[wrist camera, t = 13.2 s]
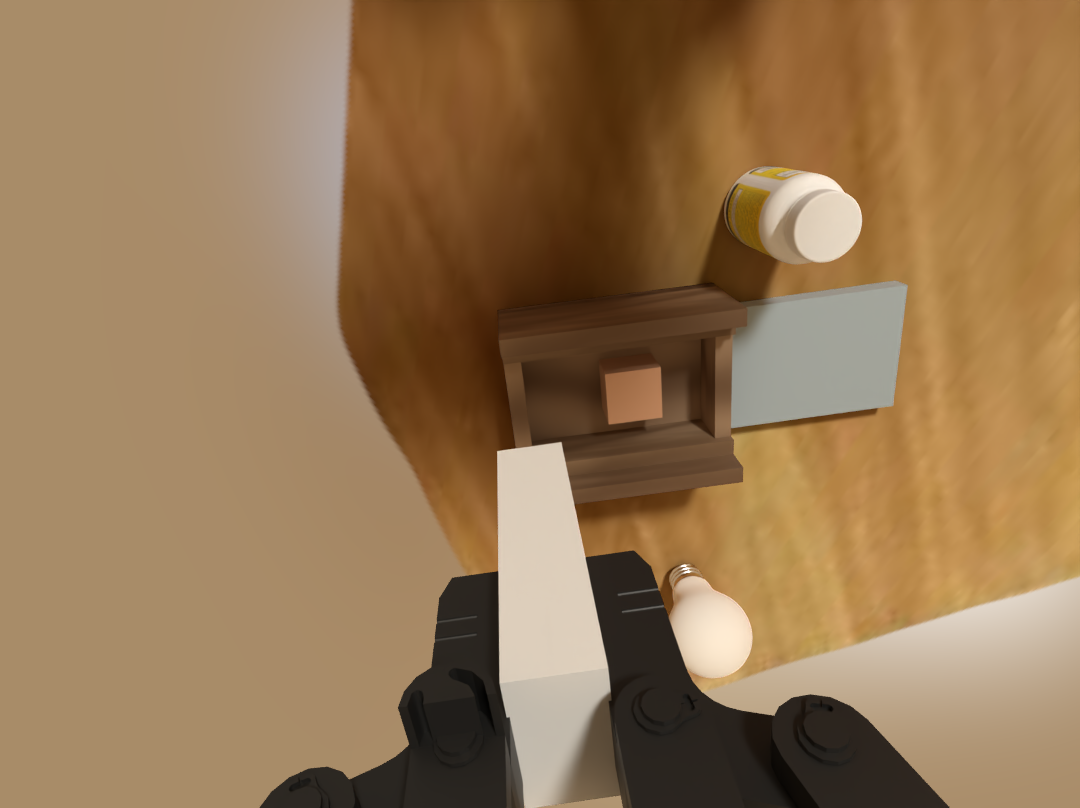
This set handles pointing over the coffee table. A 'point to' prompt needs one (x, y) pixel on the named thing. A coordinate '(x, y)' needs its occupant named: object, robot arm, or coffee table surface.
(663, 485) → the walnut box
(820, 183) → the supplement bottle
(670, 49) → the coffee table surface
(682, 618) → the light bulb
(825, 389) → the cover plate
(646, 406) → the terracotta block
